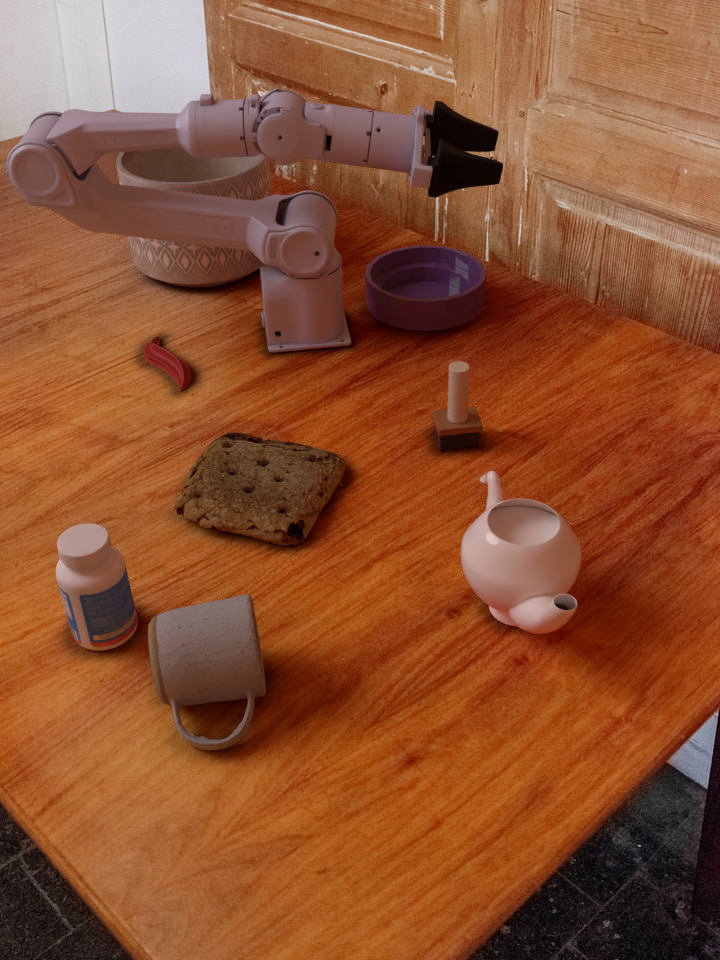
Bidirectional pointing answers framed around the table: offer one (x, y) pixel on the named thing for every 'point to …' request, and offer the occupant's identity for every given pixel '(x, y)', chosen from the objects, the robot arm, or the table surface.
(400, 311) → the bowl
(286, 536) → the pastry
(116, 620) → the pill bottle
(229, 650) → the ceramic mug
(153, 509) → the table surface
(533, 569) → the teapot
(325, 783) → the table surface
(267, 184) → the planter
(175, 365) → the cayenne pepper
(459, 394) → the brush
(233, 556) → the table surface
